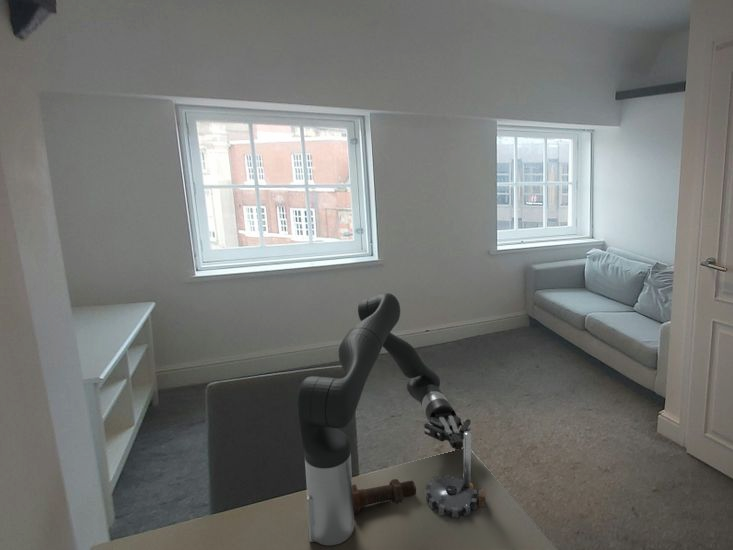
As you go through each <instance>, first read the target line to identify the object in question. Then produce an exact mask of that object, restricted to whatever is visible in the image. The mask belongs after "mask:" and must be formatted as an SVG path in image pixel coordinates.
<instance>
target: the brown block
mask: <svg viewBox="0 0 733 550" xmlns="http://www.w3.org/2000/svg"><path fill="white" fill-rule="evenodd" d="M485 492H486V491H485V490H482V489H479V490H478V506H479V507H482V508H483V507H485V506H486V497H485V496H486V493H485Z"/></svg>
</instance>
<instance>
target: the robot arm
mask: <svg viewBox="0 0 733 550" xmlns="http://www.w3.org/2000/svg"><path fill="white" fill-rule="evenodd" d="M357 313H358V319H359V320H360V321H359V322H358V323H357V324H355V325H354V326H353V327H352V328H351V329H350V330H349V331H348V332H347V334H346V335H345V336H344V338H343V339H342V341H341V342H340V345H339V347H338V359H339V363H340V365H341V367H342V369H343V371H344V373H345V376H344V377H342V378H336V377H327V376H313V375H311V376H307V377H306V378H304V380H302V381H301V383H300V386H299V388H298V392H297V396H296V397H297V400H296V413H297V420H298V429H299V435H300V444H301V449H302V451H303V454H304V466H305V481H306V482H305V483H306V506H307V507H306V509H307V511H306V512H307V525H308V535H309V543H310V542H311V543H313V542H314V543H315V542H316V543H318V544H320V545H322V546H336V545H339V544H342V543H344V542H346V541H347V540H349V538H350V537H351V536H352V534H353V532H354V529H355V514H353V493H352V485H353V475H352V454H351V451H352V450H351V441H350V438H349V437H348V435H347V434H346V433H344V432H343V431H342V430H340V429H344V428H345V427H347V426H348V425H349V424H350V423H351V422H352V420H353V419H354V416H355V413H356V410H357V408H358V405H359V402H360V400H361V396H362V393H363V390H364V389H365V388H364V387H365V384H366V382H367V379H368V378H369V376H370V373H371V371H372V370H373V367H374V365H375V363H376V362H377V359H378V357H379V355H380V354H381V351H382V349H383V348H384V349H385V351H387V353H389V355H390V356H391V357H392V359H393V360H394V361H395V364H396V365H397V366H398V368H399V370H400V371H401V373H402V374H403V375H404V377H406V378H408V379H409V380H408V381H407V383H406V389H407V392H408V394H409V395H410V396H411V397H412V398H413V399H414V400H416V401H417V402H419V403H420V405H421V406H422V410H423V412H424V415H425V418H426V419H427V420H428V423H424V424H423V425H424V428H423V429H424V432H423V433H424V435H426V436H429V437H431V438H433V439H435V440H437V441H440V442H445V441H447V442H448V443H449V446H450V447H451V448H452V449H454V450H455V451H459V450H463V449H462V448H464V432H466V431H468V432H471V425H472V424H471V419H468V418H467V419H465V420H462V418H461V417H459V416H457V414H456V413H457V412H456V411H455V410H454V408H453V406H452V405H451V403H450V401H449V400H448V399H447V397H446V396H444V394H443V393H442V391H441V389H440V386H441V379H440V377H439V375H438V374H437V373H436V372H435V371H434V370H433V369H432V368H430V367H429V366H428V365H426V363H424V362H423V360H422V359H421V357H420V356H419V354H418V352H417V351H416V349H415V348H414V347H413V346H412V345H411V344H410V343H409V342H408V341H406V340H404V339H403V338H401V337H398V336H397V335H395V334H393V333H392V332H391V331H392V330H393V329H394V328H395V326H396V325H397V324H398V322H399V320H400V317H401V306H400V302H399V300H398V298H397V297H396V296H395V295H393V294H392V293H388V292H385V293H380V294H377V295H374V296H372V297H369V298H366V299H363V300H362V301H359V304H358V306H357Z"/></svg>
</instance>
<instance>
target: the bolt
mask: <svg viewBox="0 0 733 550" xmlns="http://www.w3.org/2000/svg"><path fill="white" fill-rule="evenodd" d="M352 493H353V514H354V515H356V514H359V513H360V511H361V508H362V507H366V506H369V505H375V504H379V503H385V502H390V501H392V503H393V504H401V503H402V502H403V499H405V498H410V497H415V496H416V494H417V487H416V483H415V482H414V480H407V481H406V480H405V481H400V480H399V479H398V478H394V479H391V480H390V481H389V483H388V484H385V485H381V486H376V487H375V486H374V487H370V488H361V489H358V487H357V484H352Z"/></svg>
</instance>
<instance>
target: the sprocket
mask: <svg viewBox="0 0 733 550" xmlns="http://www.w3.org/2000/svg"><path fill="white" fill-rule="evenodd" d="M471 461H472V432H471V431H469V432H468V431H466V432H464V439H463V467H462V468H463V473H462V475H463V477H462V476H457V477H452V475H451V474H445V476H444V477H440V476H439V475H437V476H435V477H433V478H434V479H433V481H428V482H427V484H426V486H427V487H426V489H425V499H426V501H428V506H429V507H430V509H432V510H434V509H436V510H438V514H439V515H440V516H443V517H444V516H445V515H446V514H447V515H451V517H452V519H453V518H455V519H456V518H459V515H464V516H465V517H468V516H469V515H471V509H472V510H476V509H477V506H478V492H477V491H478V490H477V489H474V485H473V483H472V482H471V472H472V471H471V469H472V465H471V463H472V462H471Z"/></svg>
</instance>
